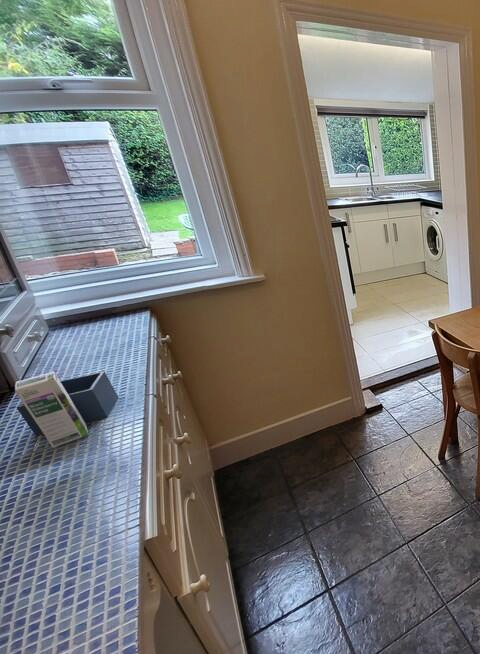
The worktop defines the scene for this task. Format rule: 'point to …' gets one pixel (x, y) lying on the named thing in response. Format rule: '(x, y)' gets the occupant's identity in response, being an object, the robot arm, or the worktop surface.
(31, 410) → the syrup box
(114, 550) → the worktop surface
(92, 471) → the worktop surface
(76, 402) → the tub
